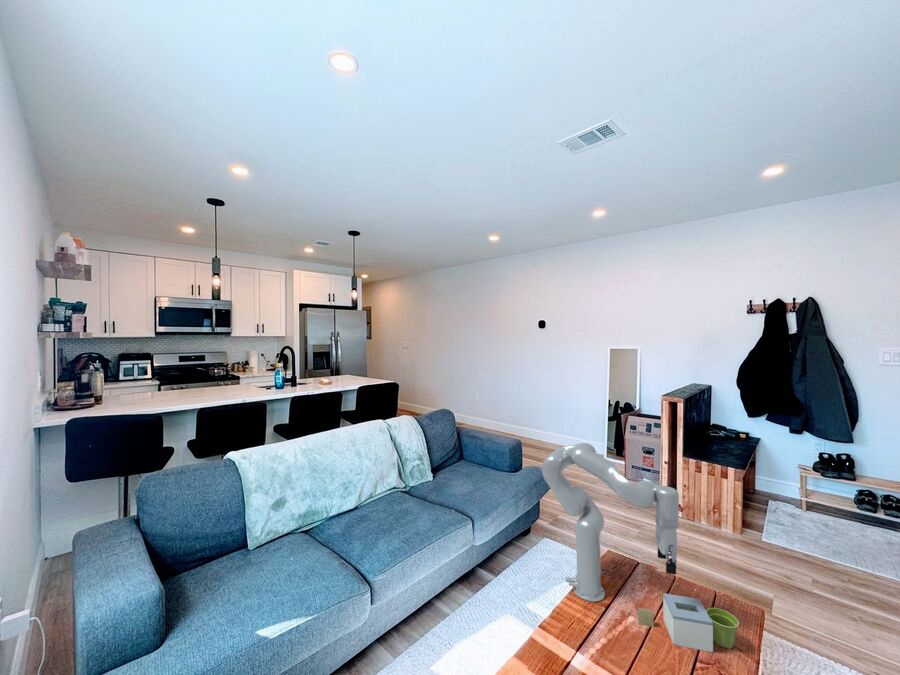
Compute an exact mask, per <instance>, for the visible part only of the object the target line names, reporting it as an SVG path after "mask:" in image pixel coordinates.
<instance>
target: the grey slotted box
mask: <svg viewBox="0 0 900 675" xmlns="http://www.w3.org/2000/svg"><path fill="white" fill-rule="evenodd" d="M662 594H663V595H662V597H663V598H662V600H663V602H662V606H663V607H662V608H663V612H662V613H663V619H662V620H663V622H664V624H665V628H666V629H667V632H668V634H669V637H670V639H671V642H672V644H673V645H674V646H678V647H679V646H680V647H684V648H689V649H695V650H699V651H704V652H709V653H714V641H713V622H712V621H711V619H710V617H709V615H708V614H707V612H706V610H707V609H705V607H704V605H703V602H702V601H701V600H700V599H699V598H695V597H688V596H682V595H678V594H677V595H676V594H670V593H662Z"/></svg>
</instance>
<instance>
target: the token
mask: <svg viewBox="0 0 900 675" xmlns="http://www.w3.org/2000/svg"><path fill="white" fill-rule="evenodd" d="M654 614H655V613H654V611H653V609H650V608H643V607H637V623H638V625H640V626H646V627H651V628H655V620H654V618H655V617H654V616H655V615H654Z"/></svg>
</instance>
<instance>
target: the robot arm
mask: <svg viewBox="0 0 900 675" xmlns="http://www.w3.org/2000/svg"><path fill="white" fill-rule="evenodd" d="M571 465H576V466H577V467H578V468H581V469H582V470H583V471H585V472H588V473H589V474H591V475H593V476H594V477H596V478H597V479H599V480H601V481H602V482H603V483H605V484H606V485H607V486H608V487H609V488H610V489H611V490H612V491H613V492H614V493H615V494H616V495H617V496H619V497H620V498H622V499H623V500H624V501H626V502H628V503H630V504H632V505H634V506H636V507H637V508H640V509H644V510H645V509H649V508H651V507H653V505H654V503H655V524H656V525H655V535H654V536H655V540H654V541H655V545H656V547H657V558H659V559H661V560H662V559H664V560H666V561H665V573H666V574H670V575H677V561H678V560H677V556H678V537H677V536H678V535H677V529H679V504H680V503H679V500H680V499H679V498H680V497H679V492H678V491H677V489H676V488H674V487H670V486H666V485H660V484H656V483H653V482H652V481H648V480H639V481H637V482H636V484H635V483H633V482H631V481H630V480H629V479H628V478H626V477H624V475H622V473H621V472H620V471H619V469H618V467H617V466H616V464H615V463H614V462H613V461H610V460H609V459H606V458H605V457H603V456H601V455H599V454H597V450H596V448H595V447H594V446H593V445H592V444H590V443H587V442H580V443H576V444H571V445H566V446H561V447H558V448H556V449H554V450H553V451H552V452H550V453H549V454H548V455H547V456H546V457H545V459H544V460H543V462H542V464H541V474H542V477H543V479H544V481H545V483H546V484H547V485H548V487H549V488H550V490H551V491H552V493H553V495H554V496H555V498H556V499H557V500H558V503H559V504H560V505H561V507H562V509H563V510H564V511H565V513H567V515H568V516H571V517H577V516H579V518H578V519H577V520H576V524H575V529H574V534H575V542H576V544H575V546H576V548H575V549H576V552H575V553H576V574H575V577H570V576H565V582H566V583H568V586H569V587H570V586H571V587H572V590H573V592H574V594H575V595H577V597H578V598H580V599H582V600H584V601H587V602H594V603H595V602H596V603H597V602H601V601H603V600H604V599H605V596H606V595H605V594H606V593H605V589H604V588H603V586H602V584H601V582H602V581H601V579H602V578H601V570H602V569H601V542H600V536H601V533H602V531H603V528H604V525H605V518H604V516H603V514H602V512H601V511H600V509H599V507H598V506H597V504H596V503H595V501H594V500H593V499H592V497H591V496H590V494H589V493H588V492H587V491H586V490H585V489H584V488H583V487H581V486H577V485H575V486H573V485H572V484H571V482H570V481H569V480H568V478H567V477H566V476H564V475H563V473H562V472H563V471H564V470H565V469H566V468H567V467H568V466H571ZM574 587H575V588H574ZM573 588H574V589H573Z"/></svg>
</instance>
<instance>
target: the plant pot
mask: <svg viewBox="0 0 900 675" xmlns="http://www.w3.org/2000/svg"><path fill="white" fill-rule="evenodd" d="M705 610H706V612H707V614H708V615H709V617H710V619H711V621H712V622H713V643H715V644H716V645H718V646H719V647H721V648H726V649H733V648H734V644H735V639H736V638H735V637H736V630H737V629H738V627H739V626H740V622H739V619H738V618H736V616H734V614H732V613H731V612H729V611H726V610H725V609H723V608H718V607H710V608H707V609H705Z"/></svg>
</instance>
